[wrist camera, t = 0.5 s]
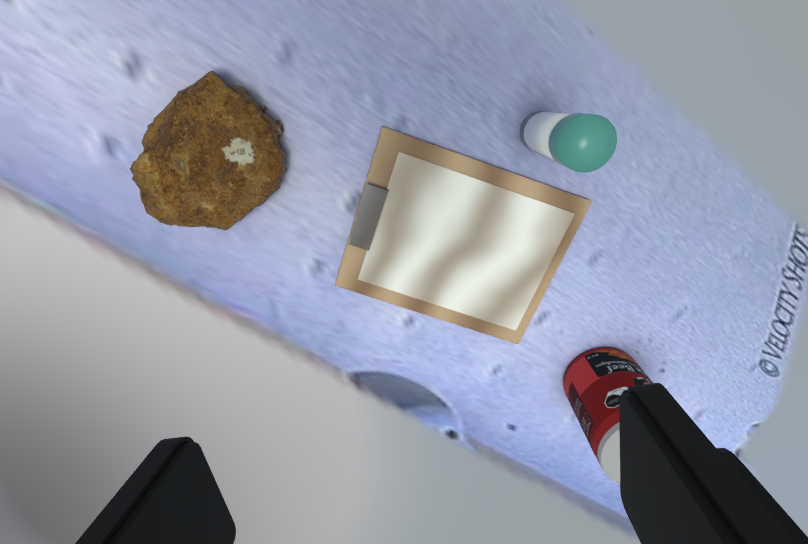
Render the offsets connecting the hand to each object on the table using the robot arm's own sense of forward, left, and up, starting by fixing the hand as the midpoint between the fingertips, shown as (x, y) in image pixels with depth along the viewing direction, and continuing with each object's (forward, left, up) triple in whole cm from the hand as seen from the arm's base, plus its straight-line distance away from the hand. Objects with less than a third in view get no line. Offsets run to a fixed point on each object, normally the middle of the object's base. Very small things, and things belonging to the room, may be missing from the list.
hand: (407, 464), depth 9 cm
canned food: (+25, -13, -33) cm, 43 cm away
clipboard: (+5, -4, -32) cm, 33 cm away
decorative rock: (-19, -4, -33) cm, 38 cm away
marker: (+8, +8, -32) cm, 34 cm away
